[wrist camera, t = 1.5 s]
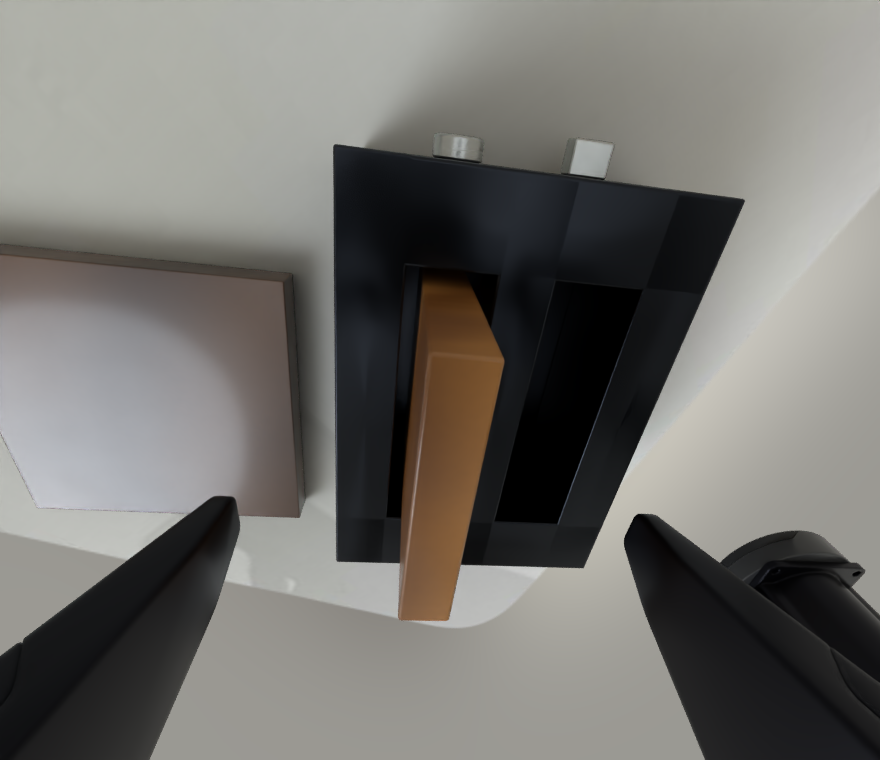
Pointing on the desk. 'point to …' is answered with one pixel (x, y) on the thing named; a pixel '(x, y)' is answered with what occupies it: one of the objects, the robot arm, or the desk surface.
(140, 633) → the robot arm
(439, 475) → the toast
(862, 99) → the desk surface
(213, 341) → the board
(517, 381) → the toaster
